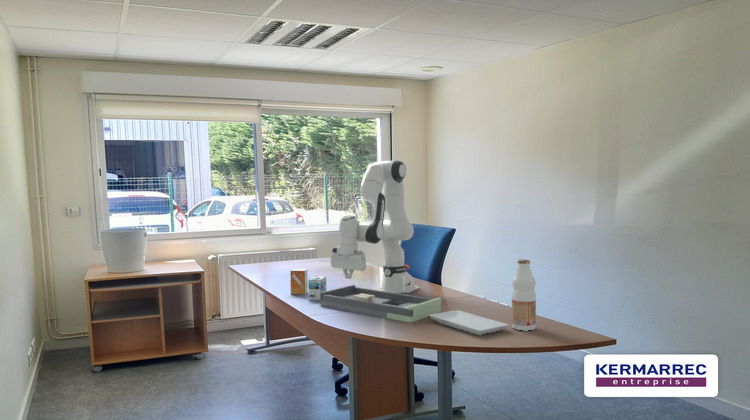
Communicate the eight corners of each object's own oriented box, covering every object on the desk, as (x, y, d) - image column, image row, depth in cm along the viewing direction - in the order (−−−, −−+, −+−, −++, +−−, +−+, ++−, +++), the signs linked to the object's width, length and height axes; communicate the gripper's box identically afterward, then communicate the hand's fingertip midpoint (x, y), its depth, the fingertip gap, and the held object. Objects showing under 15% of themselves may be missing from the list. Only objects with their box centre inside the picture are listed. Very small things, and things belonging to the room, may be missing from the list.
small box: (290, 294, 300) (290, 270, 299) (293, 292, 306) (292, 268, 305) (305, 294, 299) (304, 270, 298) (308, 292, 305) (307, 268, 305)
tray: (456, 316, 250) (456, 308, 249) (510, 332, 224) (510, 323, 223) (427, 322, 240) (427, 314, 240) (479, 339, 214) (479, 330, 214)
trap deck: (353, 297, 291) (353, 284, 291) (441, 311, 257) (441, 297, 257) (320, 305, 273) (320, 292, 272) (410, 322, 239) (410, 307, 238)
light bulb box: (320, 300, 284) (320, 279, 283) (308, 300, 285) (307, 279, 284) (326, 296, 294) (326, 276, 293) (314, 296, 295) (314, 275, 295)
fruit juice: (515, 332, 223) (516, 262, 221) (508, 325, 232) (509, 258, 230) (539, 331, 223) (539, 261, 222) (531, 325, 233) (531, 258, 231)
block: (361, 301, 269) (361, 293, 269) (374, 303, 264) (374, 295, 264) (353, 304, 264) (353, 295, 264) (366, 306, 259) (366, 297, 259)
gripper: (369, 250, 265) (369, 279, 265) (337, 247, 277) (337, 275, 278) (360, 252, 260) (360, 281, 260) (328, 248, 273) (328, 276, 273)
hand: (348, 278), depth 269 cm, fingers closed
